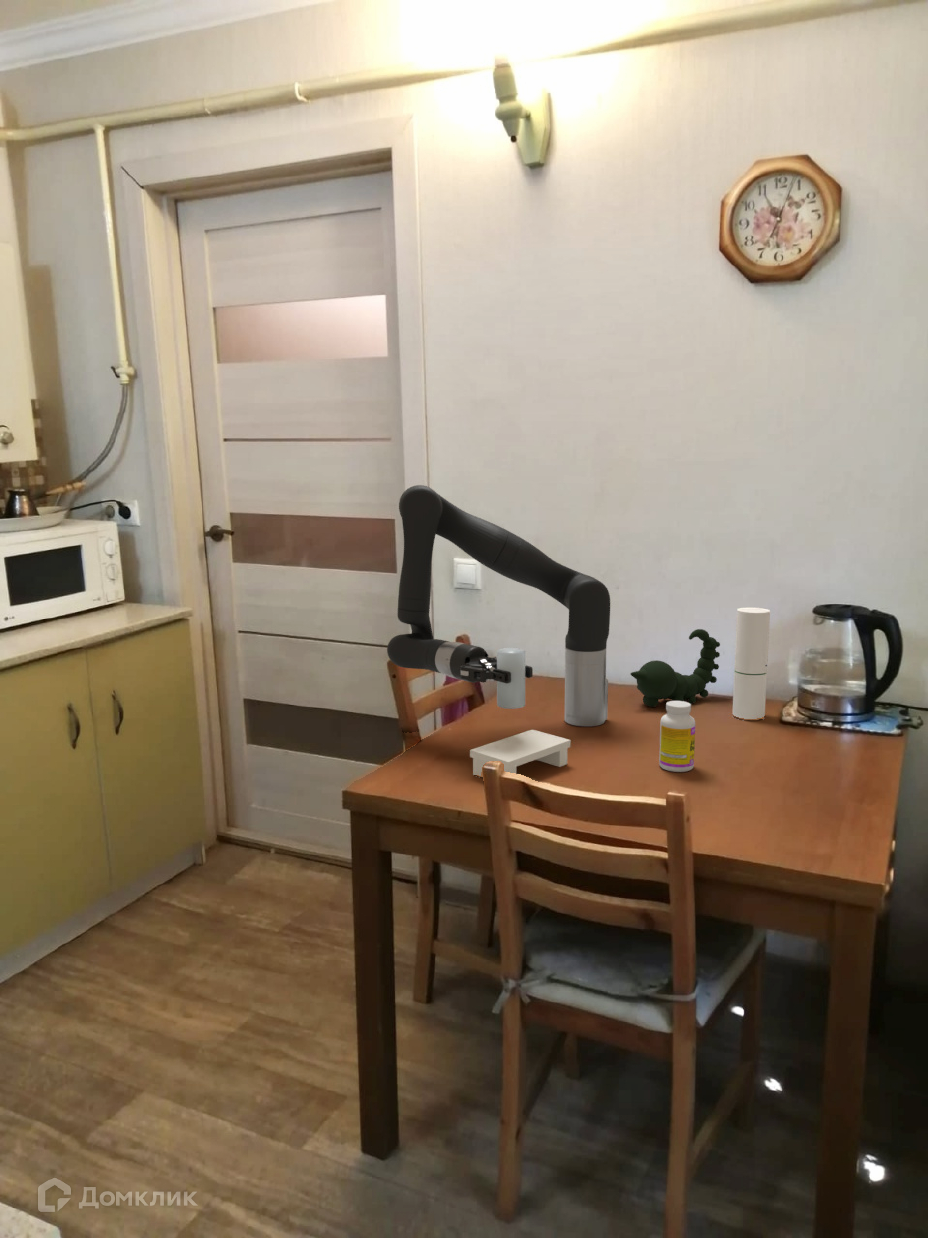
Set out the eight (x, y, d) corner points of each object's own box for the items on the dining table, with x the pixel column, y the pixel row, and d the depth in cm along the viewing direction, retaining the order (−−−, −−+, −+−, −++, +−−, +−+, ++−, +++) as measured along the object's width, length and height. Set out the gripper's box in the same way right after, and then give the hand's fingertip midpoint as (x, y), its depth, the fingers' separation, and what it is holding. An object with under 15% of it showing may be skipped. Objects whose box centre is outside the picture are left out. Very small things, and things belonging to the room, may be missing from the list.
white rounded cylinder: (510, 699, 188) (510, 646, 186) (531, 704, 184) (531, 650, 182) (491, 704, 184) (491, 650, 182) (511, 710, 180) (511, 655, 178)
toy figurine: (696, 699, 235) (615, 703, 224) (705, 625, 232) (623, 626, 221) (722, 708, 226) (639, 712, 215) (730, 632, 224) (647, 632, 213)
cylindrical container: (768, 715, 215) (773, 609, 210) (759, 722, 209) (765, 614, 204) (737, 710, 218) (742, 606, 214) (728, 718, 212) (733, 611, 208)
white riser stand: (532, 752, 190) (532, 729, 189) (570, 764, 183) (570, 740, 182) (470, 774, 177) (470, 750, 176) (508, 788, 170) (508, 762, 169)
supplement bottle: (694, 774, 176) (696, 709, 174) (659, 772, 178) (661, 707, 175) (693, 762, 183) (695, 700, 181) (659, 760, 184) (660, 698, 182)
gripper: (435, 649, 187) (494, 662, 175) (486, 638, 197) (545, 650, 185) (436, 685, 189) (495, 700, 176) (486, 672, 198) (545, 687, 186)
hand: (520, 675), depth 181 cm, fingers closed on white rounded cylinder, 5 cm apart
